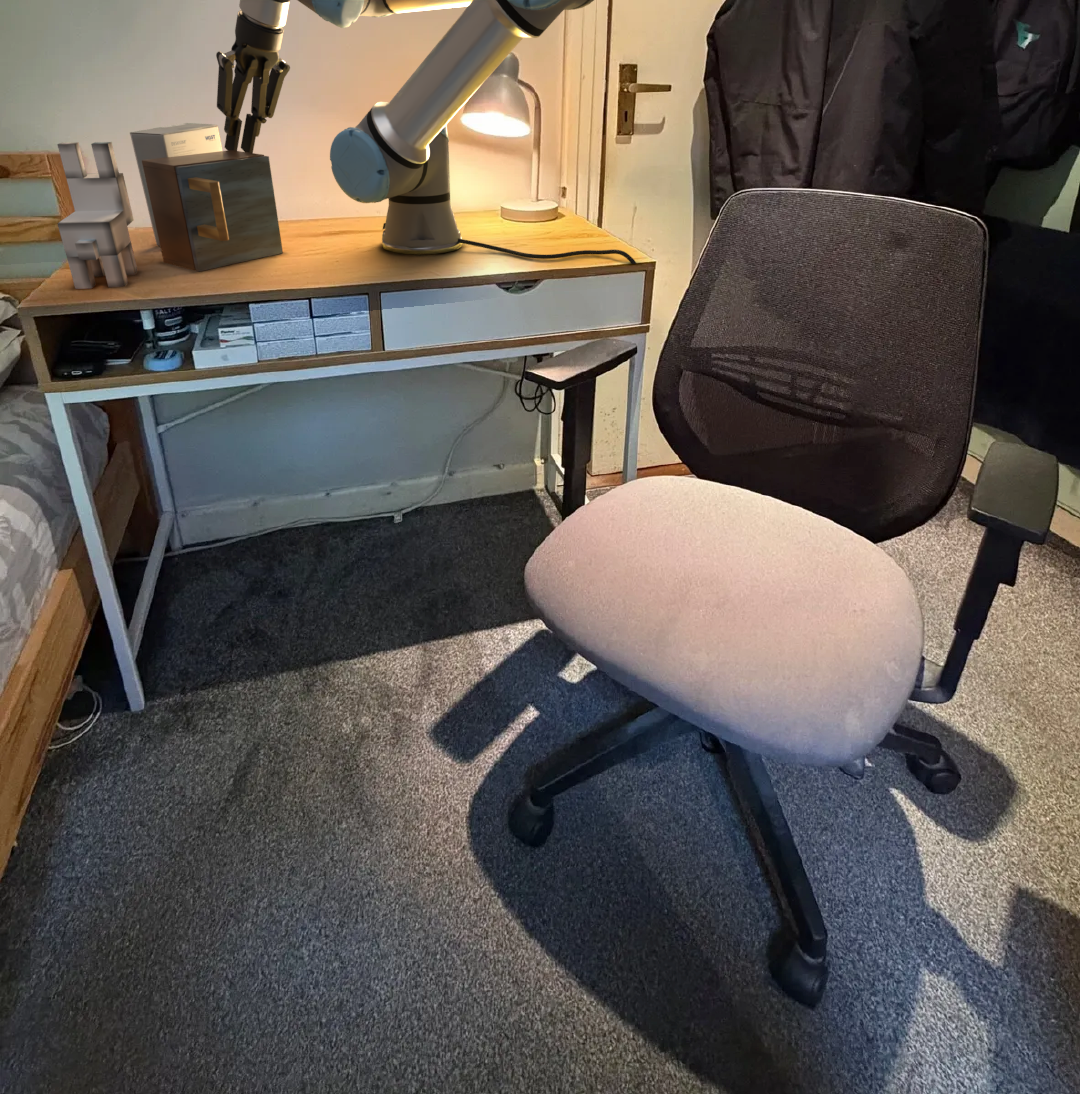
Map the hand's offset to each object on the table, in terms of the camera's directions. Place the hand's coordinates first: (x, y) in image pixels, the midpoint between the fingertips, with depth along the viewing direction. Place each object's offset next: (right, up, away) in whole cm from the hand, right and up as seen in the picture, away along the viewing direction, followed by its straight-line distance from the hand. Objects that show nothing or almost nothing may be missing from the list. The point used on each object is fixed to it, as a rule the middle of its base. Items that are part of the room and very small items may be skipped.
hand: (238, 151), depth 156 cm
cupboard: (-2, -20, -2) cm, 21 cm away
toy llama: (-16, -28, -15) cm, 36 cm away
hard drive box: (-12, -13, +11) cm, 20 cm away
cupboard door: (+5, -23, -6) cm, 24 cm away
